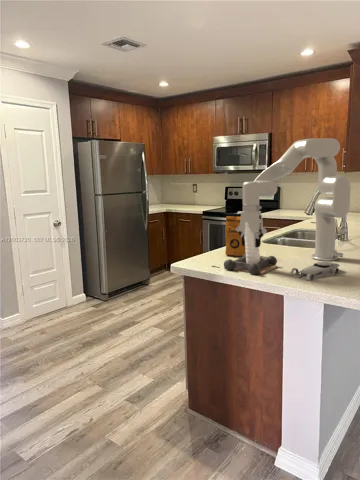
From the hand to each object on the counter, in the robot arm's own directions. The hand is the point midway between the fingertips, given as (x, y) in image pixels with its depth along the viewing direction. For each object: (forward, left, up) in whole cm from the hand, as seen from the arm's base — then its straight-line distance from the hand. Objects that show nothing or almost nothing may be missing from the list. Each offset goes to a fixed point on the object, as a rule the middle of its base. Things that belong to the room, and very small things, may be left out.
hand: (250, 245), depth 167 cm
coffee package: (+20, -20, -11) cm, 30 cm away
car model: (-29, -8, -12) cm, 32 cm away
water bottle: (0, 0, -9) cm, 9 cm away
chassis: (0, 0, -11) cm, 11 cm away
